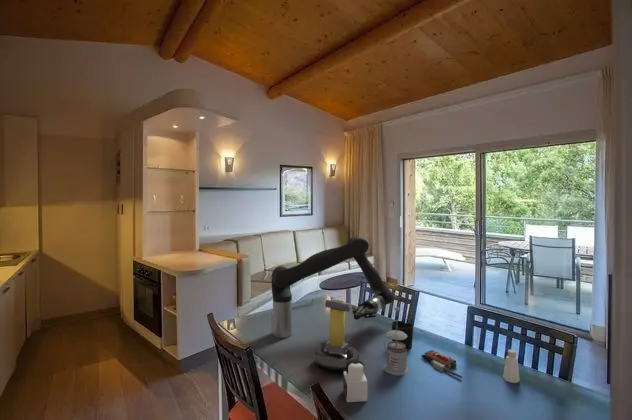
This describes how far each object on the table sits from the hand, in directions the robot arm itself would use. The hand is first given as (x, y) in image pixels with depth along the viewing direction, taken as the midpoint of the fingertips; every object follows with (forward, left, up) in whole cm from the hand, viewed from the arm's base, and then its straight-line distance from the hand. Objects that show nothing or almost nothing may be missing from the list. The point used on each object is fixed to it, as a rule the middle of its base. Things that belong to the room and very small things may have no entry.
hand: (355, 317), depth 159 cm
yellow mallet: (0, -18, -8) cm, 20 cm away
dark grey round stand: (0, -18, -14) cm, 23 cm away
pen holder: (+17, +13, -14) cm, 26 cm away
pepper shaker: (+61, +7, -14) cm, 63 cm away
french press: (+21, -8, -14) cm, 27 cm away
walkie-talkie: (+38, +4, -15) cm, 41 cm away
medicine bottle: (+16, -34, -14) cm, 40 cm away
